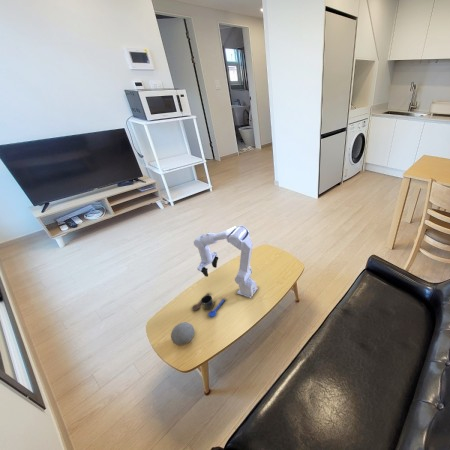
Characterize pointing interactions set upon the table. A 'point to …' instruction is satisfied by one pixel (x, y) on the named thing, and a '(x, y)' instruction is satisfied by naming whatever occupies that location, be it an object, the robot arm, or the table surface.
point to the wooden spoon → (197, 305)
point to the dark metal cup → (207, 302)
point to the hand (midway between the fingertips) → (210, 271)
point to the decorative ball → (182, 333)
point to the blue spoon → (215, 309)
